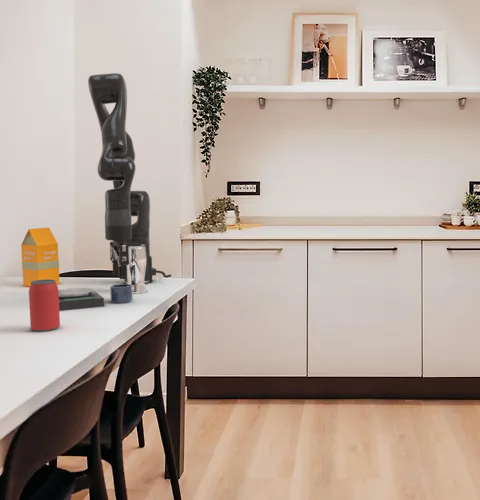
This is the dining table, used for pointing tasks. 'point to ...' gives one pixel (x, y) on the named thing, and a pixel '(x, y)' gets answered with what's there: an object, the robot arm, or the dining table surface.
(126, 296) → the cup
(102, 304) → the scale
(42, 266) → the orange juice
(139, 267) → the beer glass
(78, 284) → the dining table surface
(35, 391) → the dining table surface
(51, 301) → the beer can
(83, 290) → the platter
